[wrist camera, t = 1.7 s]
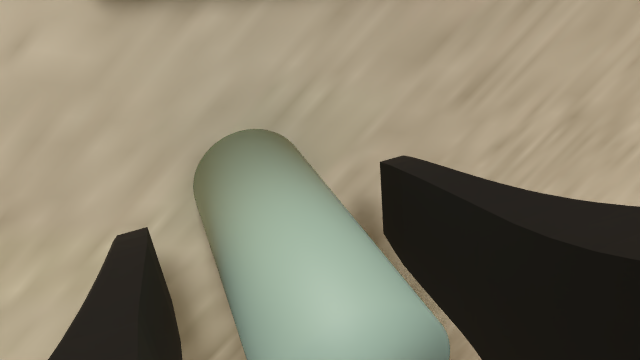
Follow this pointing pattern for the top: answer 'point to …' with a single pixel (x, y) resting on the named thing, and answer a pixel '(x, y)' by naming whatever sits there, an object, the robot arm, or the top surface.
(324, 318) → the peg
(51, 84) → the top surface
